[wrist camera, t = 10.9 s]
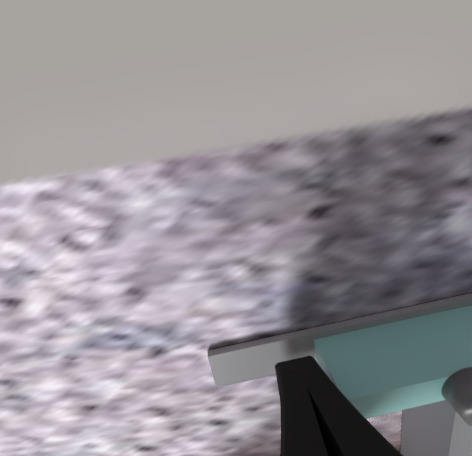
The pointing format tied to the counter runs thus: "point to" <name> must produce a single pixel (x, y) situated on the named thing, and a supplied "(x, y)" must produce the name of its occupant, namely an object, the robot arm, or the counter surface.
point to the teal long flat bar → (403, 363)
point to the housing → (301, 345)
